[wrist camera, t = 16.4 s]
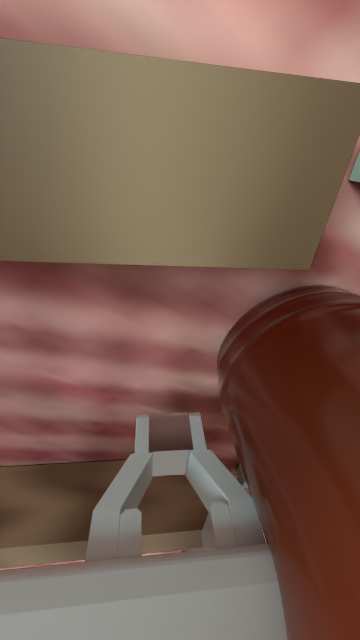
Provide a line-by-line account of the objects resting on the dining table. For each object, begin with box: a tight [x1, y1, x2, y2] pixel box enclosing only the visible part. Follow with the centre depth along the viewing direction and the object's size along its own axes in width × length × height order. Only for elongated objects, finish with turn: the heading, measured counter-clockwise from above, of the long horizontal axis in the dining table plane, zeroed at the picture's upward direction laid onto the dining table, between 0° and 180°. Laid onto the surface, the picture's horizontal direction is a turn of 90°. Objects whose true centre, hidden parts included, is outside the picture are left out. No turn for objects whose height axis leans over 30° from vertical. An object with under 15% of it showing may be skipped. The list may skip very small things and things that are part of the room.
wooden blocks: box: [0, 38, 360, 568], centre depth 11 cm, size 13×21×4 cm, turn 176°
